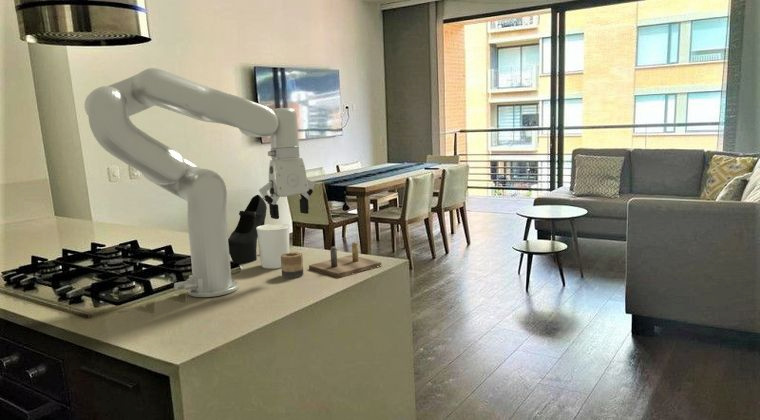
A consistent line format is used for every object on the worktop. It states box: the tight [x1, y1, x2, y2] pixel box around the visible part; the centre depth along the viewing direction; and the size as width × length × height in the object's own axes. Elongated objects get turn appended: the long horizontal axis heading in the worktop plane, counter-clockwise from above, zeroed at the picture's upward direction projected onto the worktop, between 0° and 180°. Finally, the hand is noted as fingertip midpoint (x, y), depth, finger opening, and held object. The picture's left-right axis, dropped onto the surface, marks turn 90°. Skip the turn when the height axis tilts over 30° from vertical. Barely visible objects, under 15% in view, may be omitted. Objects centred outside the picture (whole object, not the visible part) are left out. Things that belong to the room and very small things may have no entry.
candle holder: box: [256, 223, 290, 270], centre depth 166 cm, size 10×10×12 cm
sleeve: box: [280, 251, 304, 279], centre depth 154 cm, size 6×6×6 cm
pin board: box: [308, 241, 382, 278], centre depth 160 cm, size 16×14×7 cm
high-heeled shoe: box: [228, 194, 268, 264], centre depth 174 cm, size 8×19×20 cm, turn 158°
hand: (290, 215), depth 152 cm, fingers open, 9 cm apart
